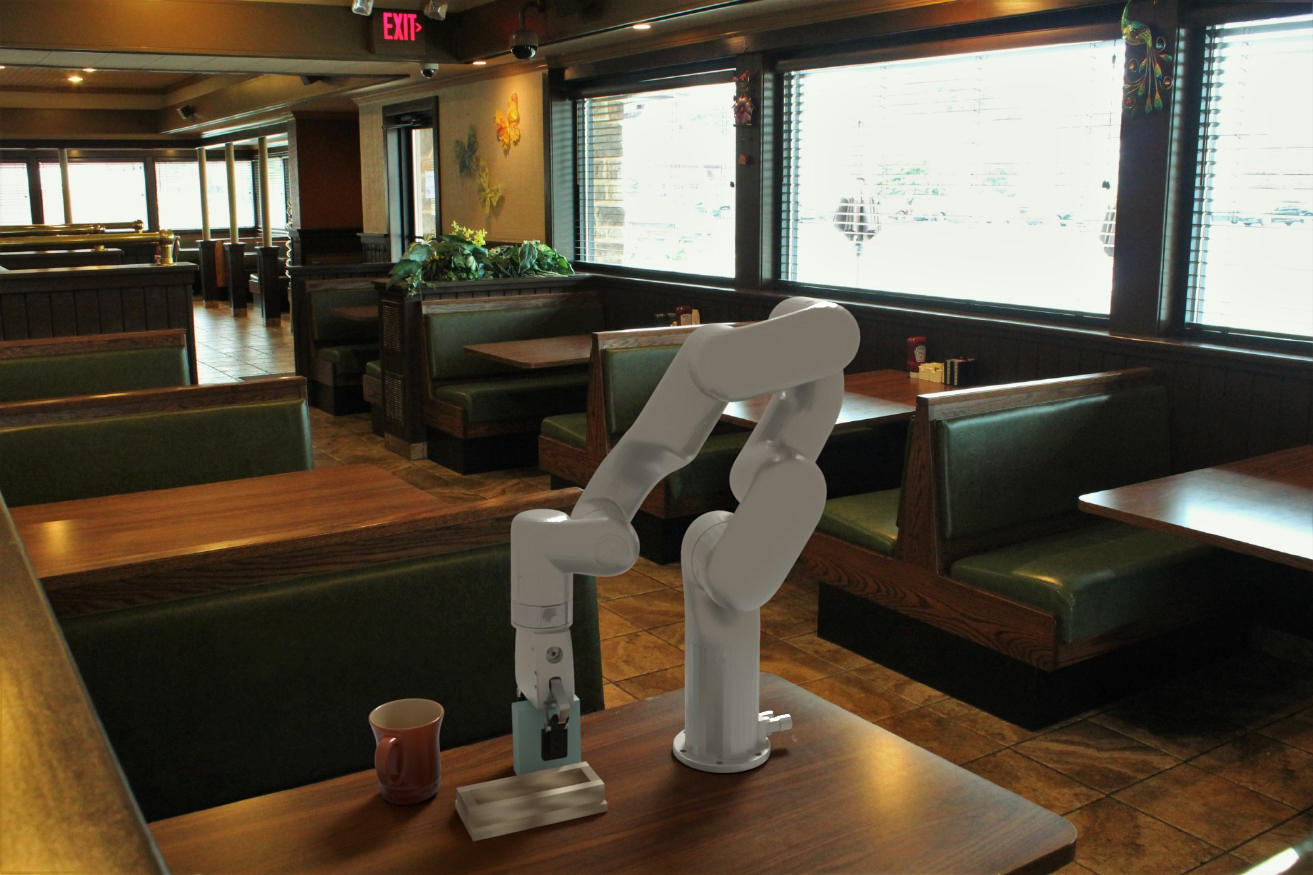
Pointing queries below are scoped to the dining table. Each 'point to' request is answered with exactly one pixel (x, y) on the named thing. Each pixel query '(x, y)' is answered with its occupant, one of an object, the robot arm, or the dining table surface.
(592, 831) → the dining table surface
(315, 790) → the dining table surface
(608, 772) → the dining table surface
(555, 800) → the pale wooden tray
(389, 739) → the mug
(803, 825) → the dining table surface
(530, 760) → the door panel
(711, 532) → the robot arm
